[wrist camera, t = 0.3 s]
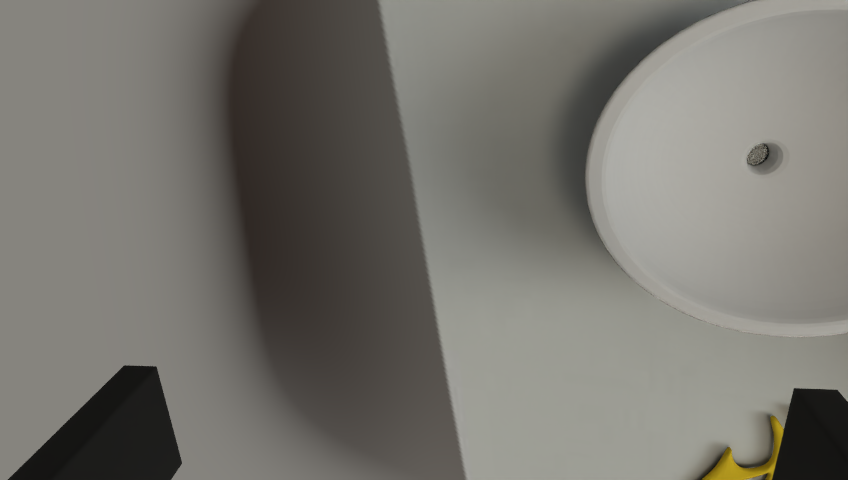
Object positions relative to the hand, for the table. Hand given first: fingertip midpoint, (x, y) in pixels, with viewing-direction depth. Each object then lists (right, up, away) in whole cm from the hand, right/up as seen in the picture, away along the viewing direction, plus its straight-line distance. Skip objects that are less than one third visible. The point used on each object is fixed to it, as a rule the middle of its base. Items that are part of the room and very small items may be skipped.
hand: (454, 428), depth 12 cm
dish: (+16, +8, +16) cm, 24 cm away
